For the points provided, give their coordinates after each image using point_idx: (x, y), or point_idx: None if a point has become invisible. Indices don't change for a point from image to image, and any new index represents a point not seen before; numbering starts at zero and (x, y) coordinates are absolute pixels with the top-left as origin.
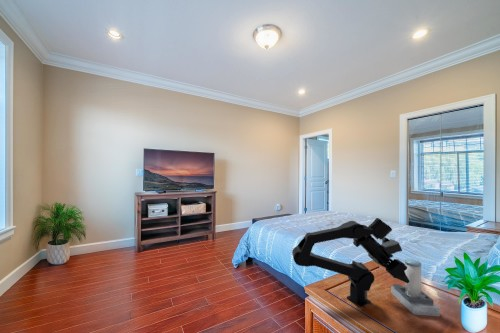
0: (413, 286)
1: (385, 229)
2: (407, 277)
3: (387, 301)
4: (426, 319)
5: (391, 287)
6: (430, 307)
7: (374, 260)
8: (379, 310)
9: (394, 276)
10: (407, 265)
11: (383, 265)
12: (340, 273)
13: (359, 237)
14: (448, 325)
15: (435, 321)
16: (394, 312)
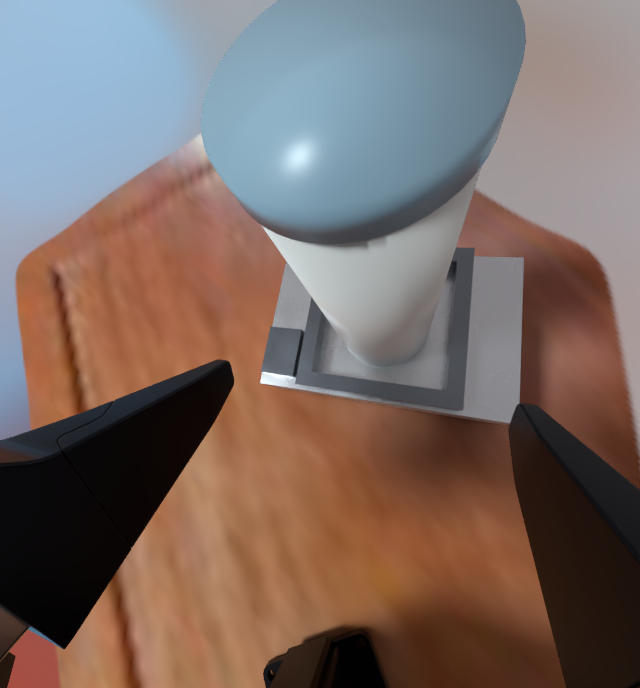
0: (427, 322)
1: None
2: (603, 461)
3: (355, 482)
4: (536, 376)
5: (265, 384)
6: (521, 311)
7: (4, 663)
8: (457, 637)
9: None
10: (363, 248)
11: (145, 509)
12: None
13: None
14: (583, 293)
15: (551, 337)
16: (475, 534)
